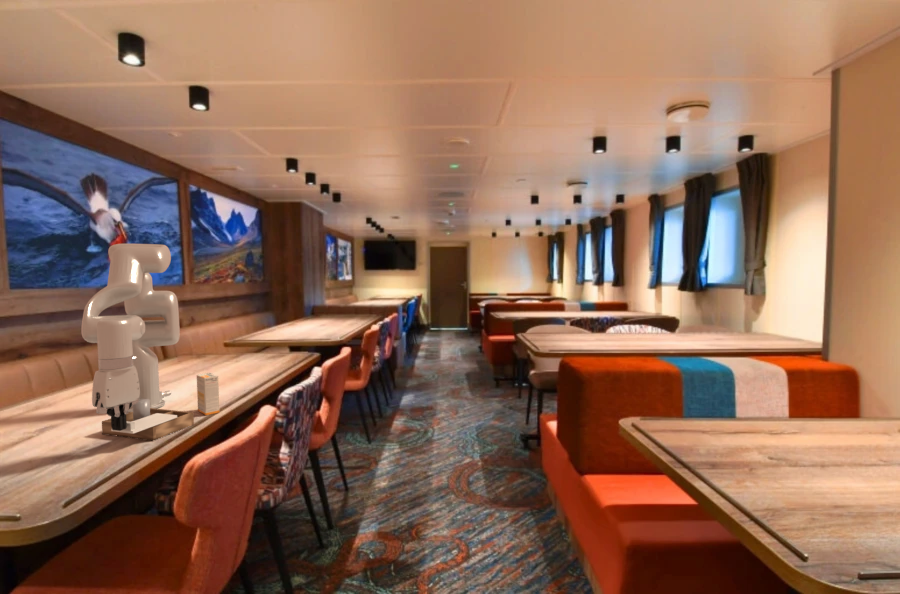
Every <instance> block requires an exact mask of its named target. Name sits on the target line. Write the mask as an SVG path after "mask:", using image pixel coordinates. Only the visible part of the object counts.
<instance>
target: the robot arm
mask: <svg viewBox="0 0 900 594" xmlns="http://www.w3.org/2000/svg"><path fill="white" fill-rule="evenodd" d="M107 253H108V254H107V255H108V257H109V260H110V261H109V263H110V264H109V269H108V270H109V272H108V278H107V284H106V285H107V286H105V287H103V288H102V289H101V290H98V292H96V293H95V294H94V295H93V296H92V297H91V298H90V299H89V300H88V302H87V303H86V305H85V306H84V308H83V313H82V319H81V320H82V321H81V330H80V331H81V336H82V339H83V340H84V341H86V342H87V343H91V344H97V361H98V370H95V372H94V375H93V381H92V391H91V401H92V406H93V407H94V408H96V409H95V410H96V411H95V413H96V414H101V415H102V414H106V415H108V416H109V417H110V419H111V427H112V430H117V431H121V430H123V429H126V424H127V421H126V414H128V413H130V412H133V405H134V404H136V403H138V401H139V399H150V408H155V409H160V408H161V407H163V406H164V405H166V403H165V402H166V401H165V400H164V397H165V398H166V397H169V396H171V395H172V392H171V390H166V391H163V392H162V391H160V376H159V373H160V372H159V358H158V356H157V354H156V353H155V352H154V351H153V350H152V349H151V348H152V347H162V346H163V347H164V346H173V345H176V344H177V343H178V342H179V341H180V336H181V335H180V333H181V330H180V329H181V328H180V312H179V300H178V296H177V294H175V293H174V292H173V291H170V290H155V289H153V277H152V275H151V274H162V273H164V272H166V271H167V269H168V268H169V266H170V264H171V260H172V255H171V251H170V248H169V247H168V246H167V245H165V244H157V243H155V244H154V243H116V244H113V245H110V246H109V248H108V252H107ZM123 302H124V310H125V313H126V315H125V314H124V315H100V314H101V313H102V312H103V311H104V310H106V309H108V308H110V307H112V306H115V305H117V304H120V303H123ZM143 318H163V319H157V320H156V319H155V320H154V319H153V320H152V319H151V320H148V319H147V320H143Z"/></svg>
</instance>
